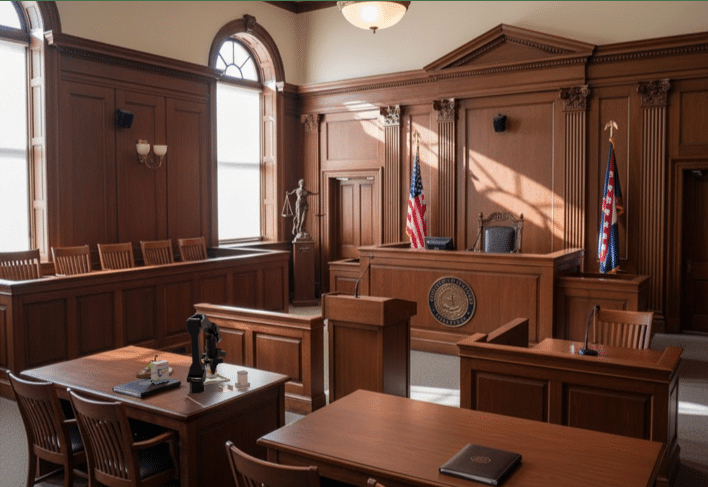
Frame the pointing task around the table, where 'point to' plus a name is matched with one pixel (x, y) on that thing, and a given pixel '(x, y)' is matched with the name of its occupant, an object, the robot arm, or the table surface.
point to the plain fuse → (242, 378)
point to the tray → (215, 379)
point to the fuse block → (232, 387)
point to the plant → (147, 370)
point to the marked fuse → (211, 373)
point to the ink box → (159, 370)
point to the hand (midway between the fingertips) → (211, 373)
